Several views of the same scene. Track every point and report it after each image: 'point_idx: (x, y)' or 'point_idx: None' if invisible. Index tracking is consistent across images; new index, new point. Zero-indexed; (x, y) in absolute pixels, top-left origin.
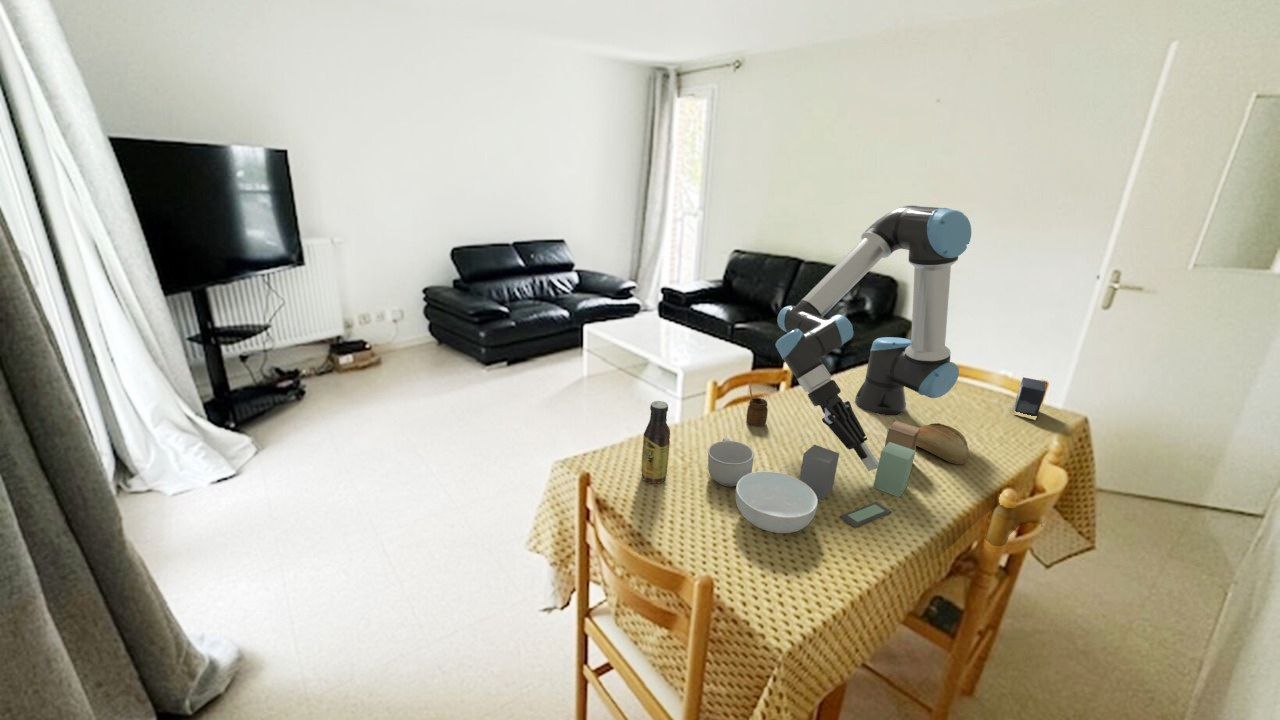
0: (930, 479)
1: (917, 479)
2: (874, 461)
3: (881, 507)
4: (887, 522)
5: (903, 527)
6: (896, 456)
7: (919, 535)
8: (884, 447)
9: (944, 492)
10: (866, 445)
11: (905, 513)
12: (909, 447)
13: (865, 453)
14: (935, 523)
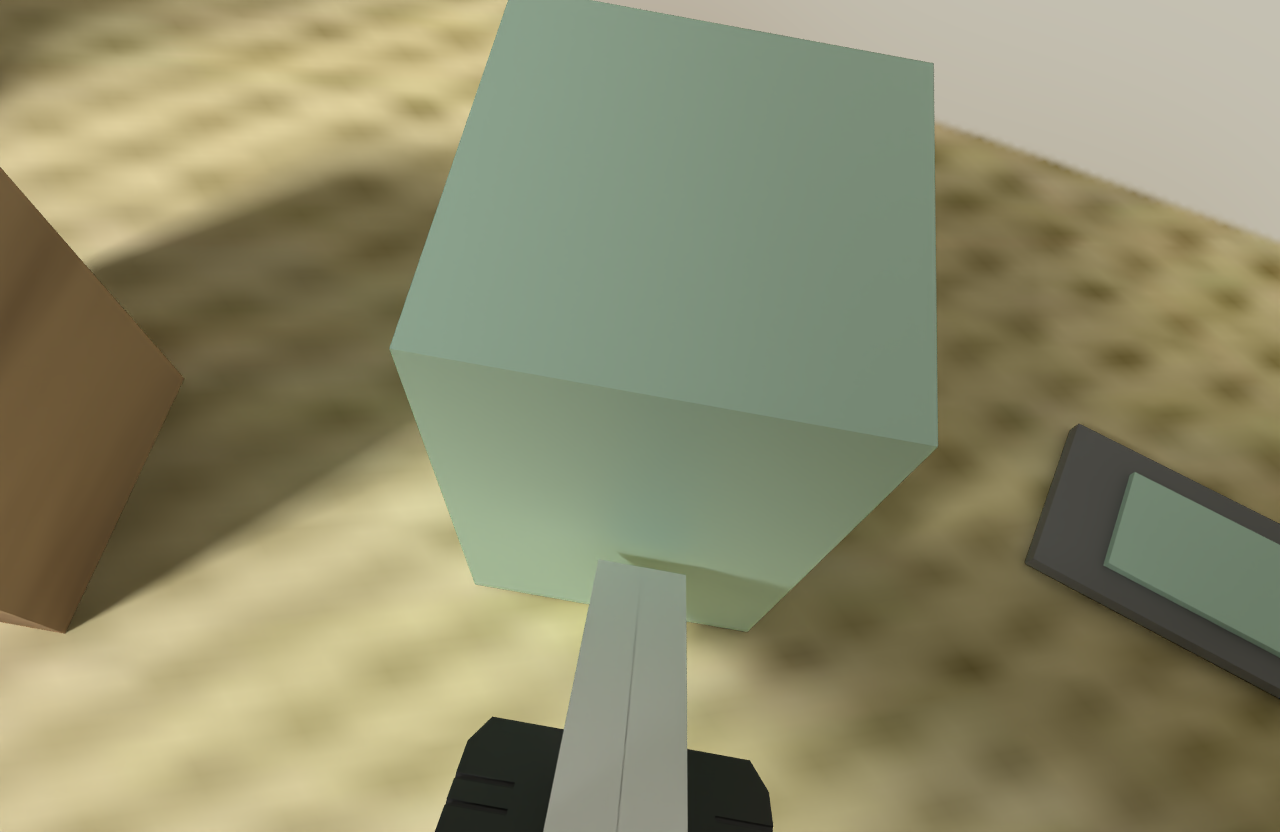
0: (266, 186)
1: (324, 276)
2: (680, 627)
3: (1093, 505)
4: (1227, 444)
5: (1187, 338)
6: (929, 213)
7: (1186, 246)
8: (742, 408)
9: (450, 106)
10: (566, 827)
11: (986, 336)
12: (8, 198)
13: (695, 798)
14: (953, 164)
